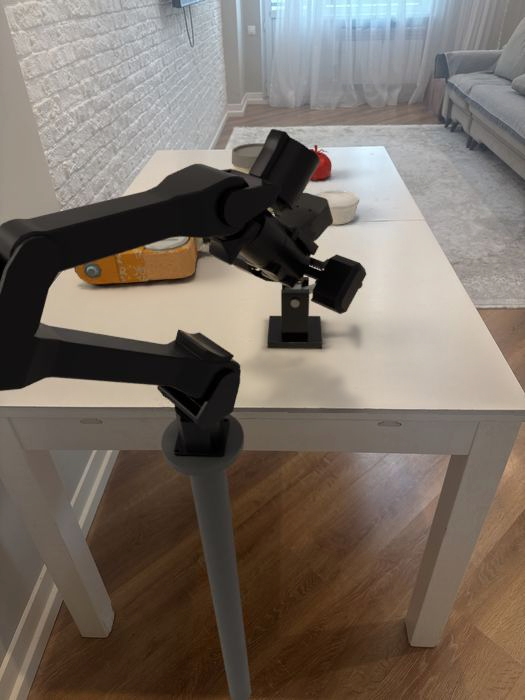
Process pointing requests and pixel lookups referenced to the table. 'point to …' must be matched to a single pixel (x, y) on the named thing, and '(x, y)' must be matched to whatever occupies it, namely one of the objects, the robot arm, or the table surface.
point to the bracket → (295, 321)
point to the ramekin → (341, 205)
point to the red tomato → (322, 165)
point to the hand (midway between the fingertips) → (320, 288)
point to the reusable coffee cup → (246, 158)
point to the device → (146, 262)
